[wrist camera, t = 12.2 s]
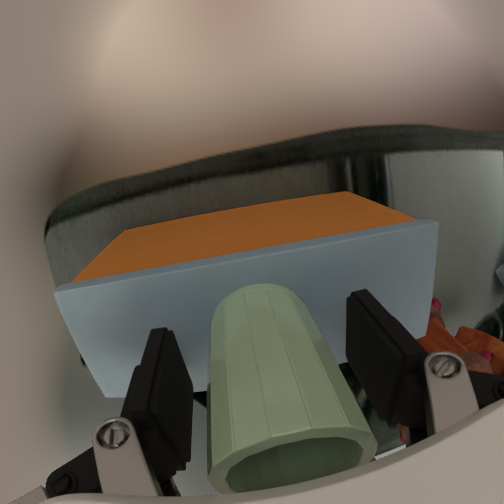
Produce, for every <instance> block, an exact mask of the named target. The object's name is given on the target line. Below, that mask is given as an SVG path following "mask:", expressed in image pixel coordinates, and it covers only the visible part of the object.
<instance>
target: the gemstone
mask: <svg viewBox="0 0 504 504" xmlns="http://www.w3.org/2000/svg"><path fill="white" fill-rule="evenodd" d="M495 273H496V274H497V276H498V278H499V279H500V281H501V283H502V284H503V286H504V263H503V264H502V265H500V266H499V267H498V268H497V269H496V270H495Z"/></svg>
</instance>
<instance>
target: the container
mask: <svg viewBox="0 0 504 504" xmlns="http://www.w3.org/2000/svg"><path fill="white" fill-rule="evenodd" d="M438 231H439V223H438V222H436V221H434V220H432V219H429V218H427V219H421V220H417V219H415V218H412V217H410V216H408V215H405V214H403V213H401V212H398V211H396V210H393V209H391V208H389V207H386V206H384V205H381V204H379V203H376V202H374V201H371V200H369V199H366V198H364V197H361V196H358V195H356V194H353V193H350V192H348V191H343V192H336V193H328V194H321V195H314V196H307V197H301V198H294V199H288V200H281V201H275V202H269V203H263V204H257V205H251V206H245V207H239V208H234V209H228V210H223V211H217V212H212V213H206V214H201V215H196V216H191V217H186V218H181V219H176V220H171V221H166V222H161V223H156V224H151V225H147V226H142V227H137V228H133V229H128V230H124V231H123V232H122V233H121V234H120V235H118V236H117V237H116V238H115V239H114V240H113V241H112V242H111V243H110V244H109V245H108V246H107V247H106V248H105V249H104V250H103V251H102V252H101V253H100V254H99V255H98V256H97V257H96V258H95V259H94V260H93V261H92V262H91V263H90V264H89V265H88V266H87V267H86V268H85V269H84V270H83V271H82V272H81V273H80V274H79V275H78V276H77V277H76V278H75V279H74V280H73V281H72V282H71V283H68V284H62V285H60V286H59V287H58V288H57V289H56V290H55V291H54V292H53V294H54V297H55V299H56V302H57V304H58V307H59V309H60V311H61V314H62V316H63V318H64V320H65V323H66V325H67V327H68V329H69V331H70V333H71V335H72V337H73V339H74V341H75V343H76V345H77V347H78V349H79V351H80V353H81V355H82V357H83V359H84V361H85V363H86V364H87V366H88V368H89V370H90V372H91V373H92V375H93V377H94V379H95V380H96V382H97V384H98V385H99V387H100V389H101V390H102V392H103V394H104V395H105V397H126V394H127V391H128V387H129V384H130V380H131V377H132V374H133V371H134V368H135V366H137V365H140V363H141V360H142V356H143V353H144V350H145V346H146V343H147V340H148V337H149V334H150V331H151V329H155V328H162V327H167V329H168V331H169V330H172V331H173V332H174V334H175V337H176V340H177V343H178V346H179V349H180V351H181V354H182V357H183V360H184V362H185V365H186V367H187V370H188V373H189V375H190V378H191V380H192V383H193V389H194V392H198V391H206V390H207V362H208V335H209V325H210V320H211V316H212V314H213V312H214V310H215V309H216V307H217V305H218V304H219V303H220V302H221V301H222V300H223V299H224V298H225V297H226V296H228V295H229V294H231V293H232V292H234V291H236V290H238V289H240V288H242V287H245V286H248V285H252V284H260V283H268V284H276V285H280V286H283V287H286V288H288V289H290V290H292V291H293V292H295V293H296V294H298V295H299V296H300V297H301V298H302V300H303V301H304V302H305V304H306V305H307V307H308V309H309V311H310V313H311V314H312V316H313V318H314V320H315V321H316V323H317V325H318V327H319V329H320V331H321V333H322V334H323V336H324V338H325V340H326V342H327V344H328V346H329V348H330V349H331V351H332V353H333V355H334V357H335V359H336V361H337V363H338V364H341V363H345V362H348V361H347V358H346V353H345V348H346V299H347V297H349V296H350V294H351V292H353V291H357V290H361V289H367V290H368V291H369V292H370V293H371V294H372V295H373V296H374V297H375V298H376V299H377V300H378V301H379V302H380V303H381V304H382V306H383V307H384V308H385V309H386V310H387V311H388V312H389V313H390V314H391V315H392V316H394V317H395V318H396V319H397V320H398V321H399V322H400V323H401V324H402V325H403V326H404V327H405V328H406V329H407V330H408V331H409V333H410V334H411V335H412V336H413V337H414V338H415V339H418V338H421V337H423V336H425V335H426V331H427V325H428V320H429V314H430V308H431V302H432V295H433V287H434V279H435V270H436V260H437V248H438Z"/></svg>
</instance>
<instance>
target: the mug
mask: <svg viewBox="0 0 504 504" xmlns="http://www.w3.org/2000/svg"><path fill="white" fill-rule="evenodd" d="M440 309H441V303H440V301H439V300H438V299H432V302H431V308H430V314H429V320H428V325H427V331H426V335H425V336H423V337H421V338H418V339H416V340H417V341H418V342H419V343H420V345H421V346H422V347H423V348H424V349H425V350H426V351H427V352H428V353H429V355H430V354H432V353H434V352H437V351H450V352H453V353H455V354H457V355H459V356H460V357H461V358H462V359H463V361H464V363H465V365H466V368H467V370H471V371H477V372H484V373H490V374H497V375H504V342H502V341H500V340H499V339H497V338H496V337H493V336H491V335H488V334H486V333H484V332H482V331H478V330H475V329H472V328H467V327H465V326H462V327H460V328H459V330H458V332H457V334H456V336H455V338H454V337H453V336H452V335H450V334H449V332H448V331H447V330H446V329H445V324H444V321H443V318H442V316H441V314H440V312H439V310H440ZM397 427H398V429H399V430H400V432H401V433H400V440H401V441H402V442H403V443H406V438H405V426H401V424H400V423H399V424H397Z"/></svg>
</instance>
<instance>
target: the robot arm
mask: <svg viewBox="0 0 504 504" xmlns="http://www.w3.org/2000/svg"><path fill="white" fill-rule="evenodd" d="M345 353H346V358H347V361H348V363H349V364H350V366H351V368H352V370H353V371H354V373H355V375H356V377H357V378H358V380H359V382H360V384H361V386H362V387H363V389H364V391H365V393H366V394H367V396H368V398H369V400H370V402H371V403H372V405H373V407H374V409H375V411H376V412H377V414H378V416H379V418H380V420H381V421H386V422H387V424H388V426H389V427H392V426H394V425H397V424H399V423H400V424H401V426H405V438H406V448H405V449H402V450H400V451H398V452H396V453H393V454H390V455H388V456H386V457H383V458H380V459H378V460H375V461H372V462H369V463H367V464H364V465H361V466H358V467H355V468H352V469H349V470H346V471H342V472H339V473H336V474H332V475H329V476H325V477H321V478H317V479H313V480H309V481H305V482H301V483H296V484H292V485H287V486H281V487H276V488H270V489H264V490H258V491H250V492H243V493H234V494H224V495H211V496H187V497H186V496H185V497H181V495H180V493H179V491H178V489H177V487H176V485H175V483H174V480H173V478H172V476H174V475H175V474H176V471H180V470H186V462H190V460H191V436H192V413H193V394H194V389H193V383H192V380H191V378H190V375H189V373H188V370H187V367H186V365H185V362H184V360H183V357H182V354H181V351H180V349H179V346H178V343H177V340H176V337H175V334H174V332H173V331H172V330H169V331H168V329H167V327H162V328H155V329H151V331H150V334H149V337H148V340H147V343H146V346H145V350H144V353H143V356H142V360H141V363H140V365H137V366H135V368H134V371H133V374H132V377H131V380H130V384H129V387H128V391H127V394H126V397H125V401H124V405H123V408H122V412H121V415H120V417H113V418H109V419H106V420H104V421H103V422H101V423H100V424H99V425H98V426H97V427H96V428H95V430H94V432H93V436H92V441H93V447H91V448H90V449H88V450H87V451H85V452H84V453H82V454H80V455H79V456H77V457H76V458H74V459H72V460H71V461H69V462H68V463H66V464H65V465H63V466H61V467H60V468H58V469H56V470H55V471H54V472H52V473H51V474H50V476H49V477H48V479H47V482H46V487H45V488H44V487H42V486H39V487H37V488H36V489H34V490H32V491H31V492H29V493H27V494H25V495H24V496H22V497H20V498H18V499H16V500H14V501H13V502H11V503H9V504H504V375H497V374H490V373H484V372H477V371H471V370H467V368H466V365H465V363H464V361H463V359H462V358H461V357H460V356H459V355H457V354H455V353H453V352H450V351H437V352H434V353H432V354H430V355H429V353H428V352H427V351H426V350H425V349H424V348H423V347H422V346H421V345H420V343H419V342H418V341H417V340H416V339H415V338H414V337H413V336H412V335H411V334H410V333H409V331H408V330H407V329H406V328H405V327H404V326H403V325H402V324H401V323H400V322H399V321H398V320H397V319H396V318H395V317H394V316H392V315H391V314H390V313H389V312H388V311H387V310H386V309H385V308H384V307H383V306H382V304H381V303H380V302H379V301H378V300H377V299H376V298H375V297H374V296H373V295H372V294H371V293H370V292H369V291H368V290H367V289H361V290H357V291H353V292H351V294H350V296H349V297H347V299H346V348H345Z"/></svg>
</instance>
